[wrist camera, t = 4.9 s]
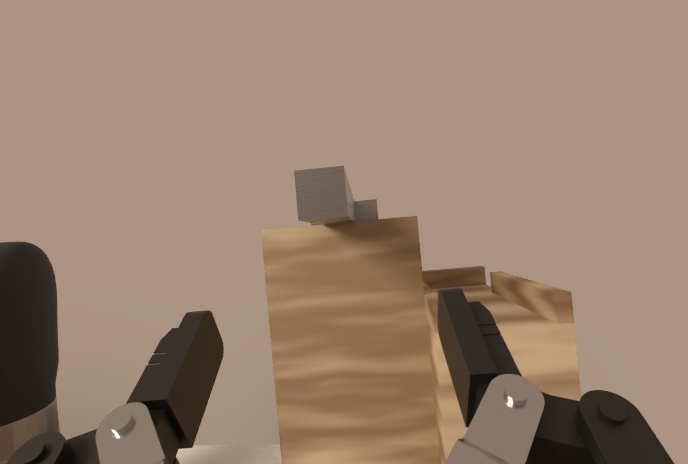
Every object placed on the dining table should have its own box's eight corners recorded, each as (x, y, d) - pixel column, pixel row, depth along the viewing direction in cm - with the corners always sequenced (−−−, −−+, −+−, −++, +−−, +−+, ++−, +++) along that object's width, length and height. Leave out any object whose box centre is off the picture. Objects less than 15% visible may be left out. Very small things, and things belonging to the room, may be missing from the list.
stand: (608, 690, 25) (562, 200, 25) (289, 699, 26) (247, 230, 26) (502, 492, 44) (476, 214, 44) (320, 502, 45) (296, 230, 45)
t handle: (396, 211, 18) (391, 161, 18) (251, 224, 19) (247, 175, 19) (377, 222, 42) (375, 201, 42) (314, 228, 43) (312, 207, 43)
